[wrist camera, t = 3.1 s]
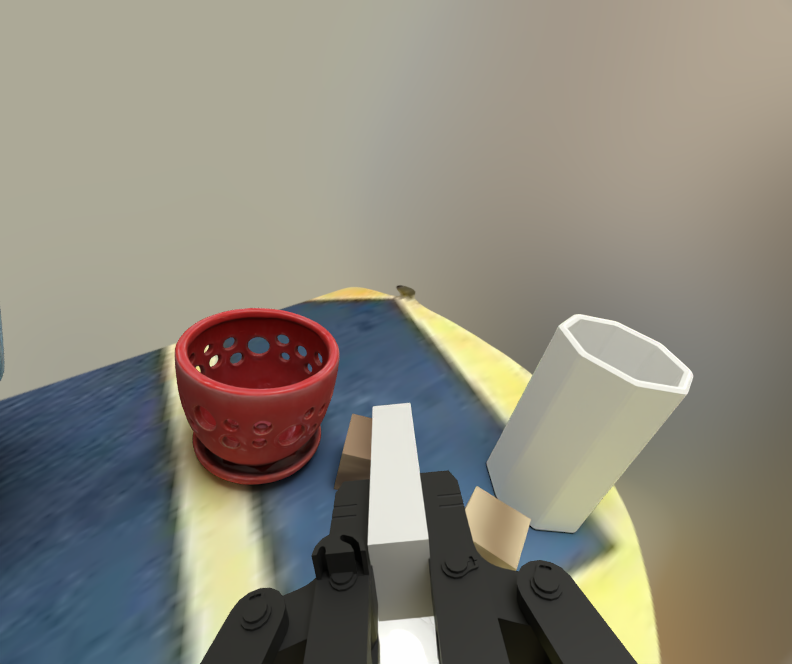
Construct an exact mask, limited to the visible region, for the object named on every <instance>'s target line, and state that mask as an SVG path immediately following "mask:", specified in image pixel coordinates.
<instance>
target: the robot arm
mask: <svg viewBox="0 0 792 664" xmlns="http://www.w3.org/2000/svg"><path fill="white" fill-rule="evenodd" d="M3 373H4V347H3V334H2V322H1V311H0V380H1V379H2V376H3ZM312 560H313V565H314V569H315V574H316V578H315V579H314V580H313V581H312V582H310V583H309V584H308V585H306V586H304V587H302V588H300V589H298V590H296V591H293V592H291V593H289V594H286V595H284V596H282V595H281V594H280V592H279V591H277V590H275V589H272V588H260V589H257V590H255V591H252V592H250V593H248V594H247V595H246V596H244V597H243V598H242V599H240V600H239V601H238V603H237V604H236V605H235V606H234V608H233V609H232V610H231V612H230V614H229V615H228V617H227V619H226V620H225V622H224V624H223V626H222V627H221V629H220V631H219V632H218V634H217V636H216V638H215V639H214V641H213V643H212V644H211V646H210V648H209V650H208V651H207V653H206V655H205V656H204V658H203V660H202V662H201V663H200V664H380V642H379V635H378V618H379V622H380V621H390V620H401V619H411V618H421V617H432V616H434V622H435V633H436V645H437V658H438V660H439V664H637V662H636V661H635V660H634V658H633V657H632V656H631V654H630V653H629V652H628V651H627V649H626V648H625V647H624V645H623V644H622V643H621V641H620V640H619V639H618V638H617V636H616V635H615V634H614V632H613V631H612V630H611V628H610V627H609V626H608V625H607V623H606V622H605V621H604V619H603V618H602V617H601V615H600V614H599V613H598V612H597V610H596V609H595V608H594V606H593V605H592V604H591V602H590V601H589V600H588V599H587V597H586V596H585V595H584V593H583V592H582V591H581V589H580V588H579V587H578V586H577V584H576V583H575V582H574V580H573V579H572V578H571V576H570V575H569V574H568V573H566V572H565V571H564V570H563V569H562V568H561V567H559V566H557V565H555V564H553V563H551V562H547V561H542V560H537V561H530V562H528V563H526V564H525V565H523V566H522V567H521V569H520V570H519V571H514V570H510V569H505V568H501V567H498V566H495V565H493V564H491V563H489V562H488V561H486V560H485V559H484V558H483V557H482V556H481V555H480V554H479V553H478V551H477V550H476V547H475V545H474V542H473V538H472V534H471V531H470V527H469V523H468V519H467V515H466V511H465V508H464V504H463V500H462V496H461V492H460V488H459V485H458V481H457V480H456V478H455V477H454V476H453V475H452V474H451V473H450V472H449V470H448V471H438V472H428V473H420V472H419V464H418V457H417V449H416V442H415V435H414V427H413V420H412V412H411V405H410V403H404V404H394V405H383V406H373V418H372V444H371V471H370V479H365V480H355V481H344V482H343V483H342V485H341V486H340V488H339V489H338V491H337V492H336V494H335V501H334V509H333V514H332V521H331V528H330V534H329V535H328V536H326V537H324V538H323V539H322V540H321V541H320V542H319V543H318V544H317V545H316V546H315V548H314V551H313V553H312Z"/></svg>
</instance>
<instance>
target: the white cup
mask: <svg viewBox="0 0 792 664" xmlns="http://www.w3.org/2000/svg"><path fill="white" fill-rule="evenodd" d="M378 635H379V642H380V664H439V660H438V658H437V645H436V633H435V622H434V616H432V617H421V618H411V619H401V620H390V621H380V622H379V618H378Z"/></svg>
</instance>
